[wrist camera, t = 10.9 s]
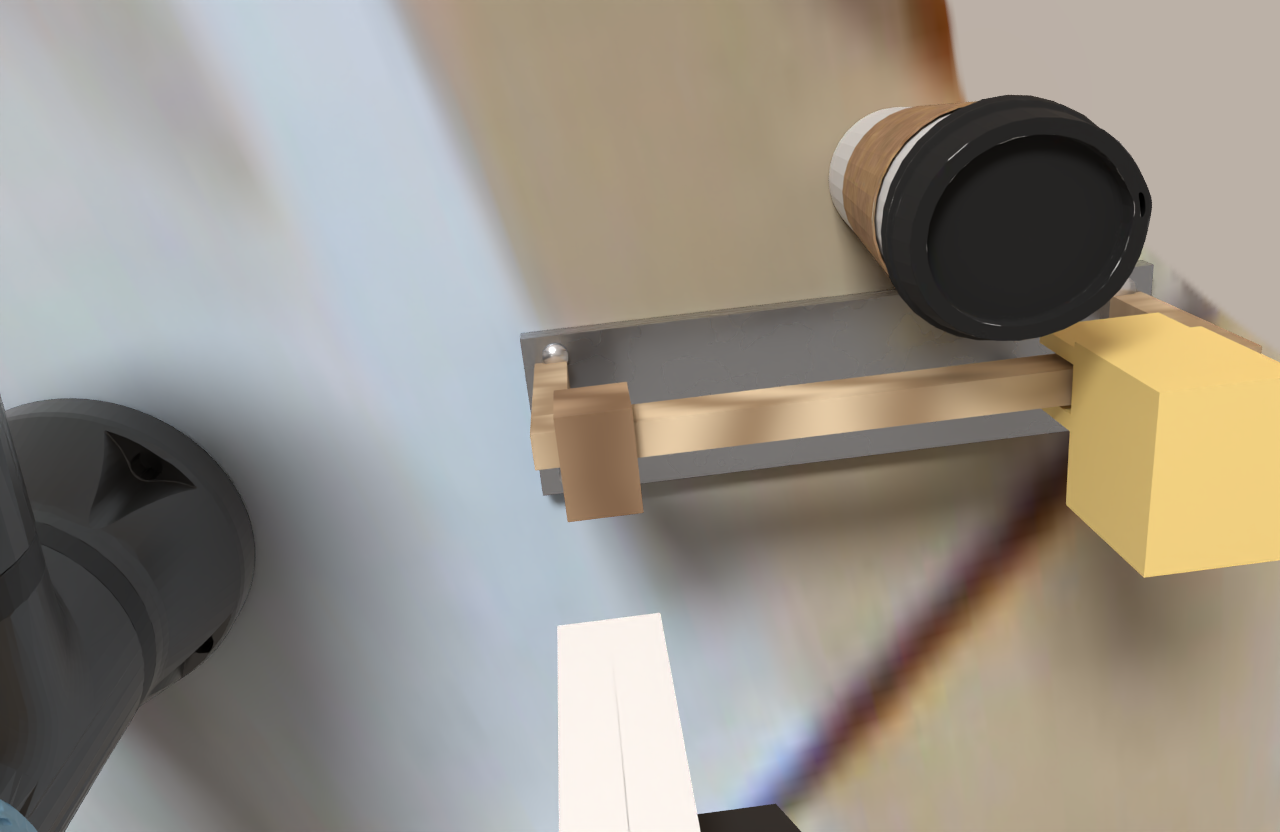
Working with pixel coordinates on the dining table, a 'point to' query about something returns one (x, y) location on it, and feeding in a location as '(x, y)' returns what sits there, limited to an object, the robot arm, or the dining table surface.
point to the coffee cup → (993, 212)
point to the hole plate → (786, 371)
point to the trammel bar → (778, 413)
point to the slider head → (1172, 443)
